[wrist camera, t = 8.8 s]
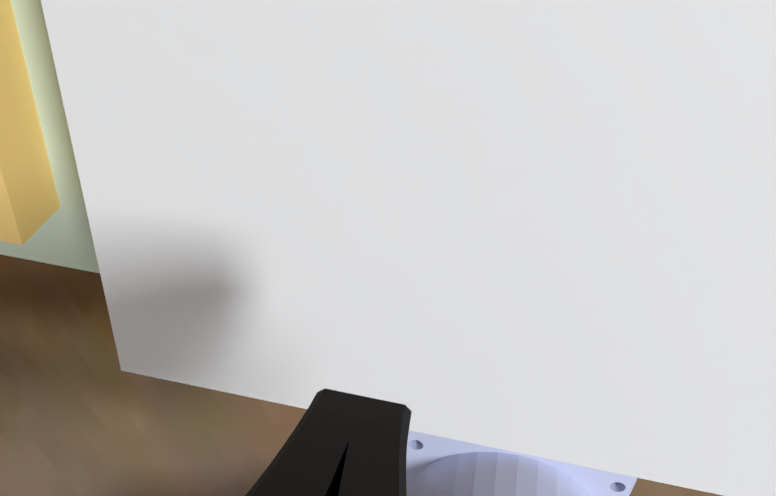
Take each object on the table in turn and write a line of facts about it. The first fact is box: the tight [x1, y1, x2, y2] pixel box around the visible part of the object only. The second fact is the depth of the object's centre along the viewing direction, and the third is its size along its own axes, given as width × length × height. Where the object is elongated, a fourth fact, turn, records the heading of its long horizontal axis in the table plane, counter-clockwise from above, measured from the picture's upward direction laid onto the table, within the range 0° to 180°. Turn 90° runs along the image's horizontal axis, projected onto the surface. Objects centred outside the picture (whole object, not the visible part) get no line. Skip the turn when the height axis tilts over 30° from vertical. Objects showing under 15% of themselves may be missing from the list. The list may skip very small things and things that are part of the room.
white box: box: [41, 0, 776, 496], centre depth 17 cm, size 14×22×4 cm, turn 85°
